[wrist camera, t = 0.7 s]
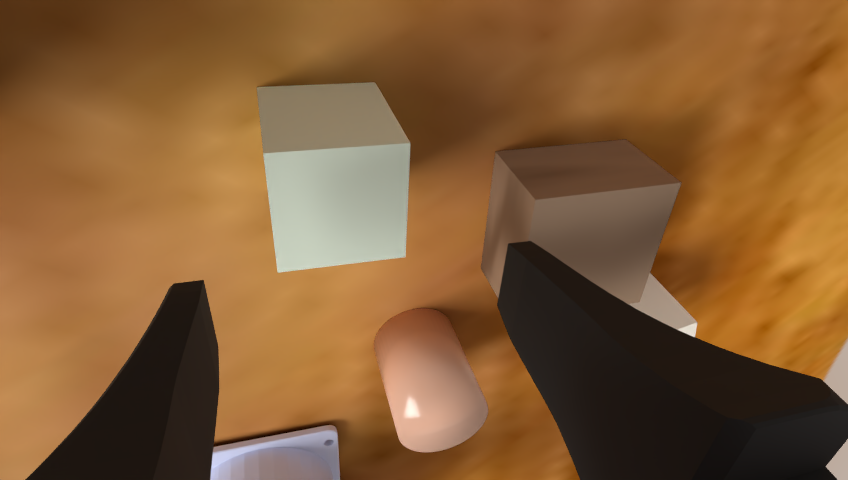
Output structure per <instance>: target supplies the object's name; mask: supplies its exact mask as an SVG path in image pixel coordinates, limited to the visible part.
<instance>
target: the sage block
mask: <svg viewBox="0 0 848 480" xmlns="http://www.w3.org/2000/svg"><path fill="white" fill-rule="evenodd" d="M257 95H258V105H259V115H260V125H261V135H262V145H263V154H264V163H265V171H266V179H267V188H268V196H269V204H270V213H271V221H272V229H273V238H274V246H275V254H276V262H277V271H278V273H279V272H287V271H295V270H303V269H311V268H320V267H328V266H336V265H344V264H352V263H361V262H369V261H377V260H385V259H393V258H402V257H405V254H406V232H407V210H408V188H409V165H410V141H409V140H408V138H407V136H406V134H405V133H404V131H403V129H402V128H401V126H400V124H399V122H398V121H397V119H396V117H395V116H394V114H393V112H392V110H391V109H390V107H389V105H388V103H387V102H386V100H385V98H384V97H383V95H382V93H381V91H380V90H379V88H378V86H377V85H376V83H375V82H368V83H344V84H319V85H294V86H270V87H257Z"/></svg>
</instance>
